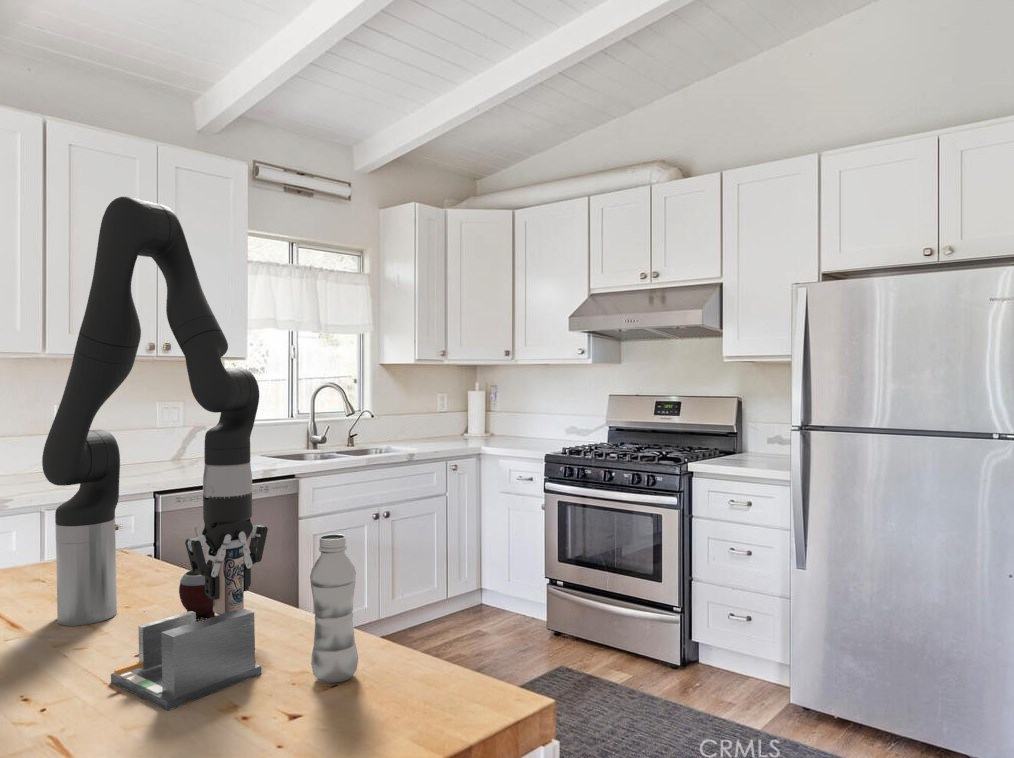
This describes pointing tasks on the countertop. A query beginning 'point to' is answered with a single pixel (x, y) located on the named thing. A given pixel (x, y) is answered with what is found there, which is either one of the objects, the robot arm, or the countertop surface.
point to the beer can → (230, 580)
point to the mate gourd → (195, 594)
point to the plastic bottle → (333, 612)
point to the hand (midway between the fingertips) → (228, 594)
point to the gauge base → (197, 661)
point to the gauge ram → (155, 640)
